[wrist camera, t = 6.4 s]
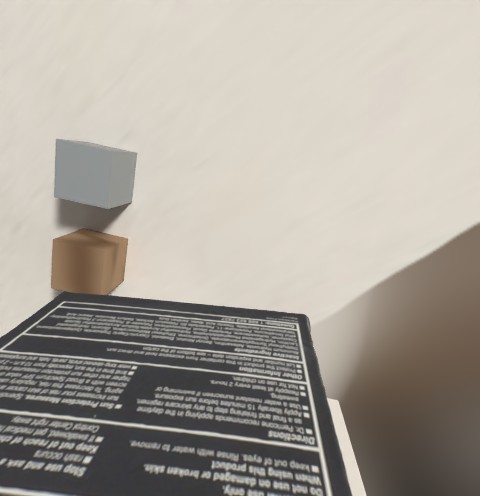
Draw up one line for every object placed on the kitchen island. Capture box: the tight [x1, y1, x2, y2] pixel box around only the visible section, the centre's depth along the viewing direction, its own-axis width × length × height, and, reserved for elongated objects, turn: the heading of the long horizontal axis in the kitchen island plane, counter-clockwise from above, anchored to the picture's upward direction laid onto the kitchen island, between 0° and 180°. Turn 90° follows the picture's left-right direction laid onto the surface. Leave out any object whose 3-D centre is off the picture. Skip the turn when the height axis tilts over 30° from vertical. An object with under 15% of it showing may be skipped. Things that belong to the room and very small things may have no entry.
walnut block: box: [51, 228, 128, 295], centre depth 32 cm, size 5×5×5 cm
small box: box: [0, 291, 352, 496], centre depth 9 cm, size 11×6×10 cm, turn 86°
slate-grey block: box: [54, 139, 137, 209], centre depth 29 cm, size 5×5×5 cm
